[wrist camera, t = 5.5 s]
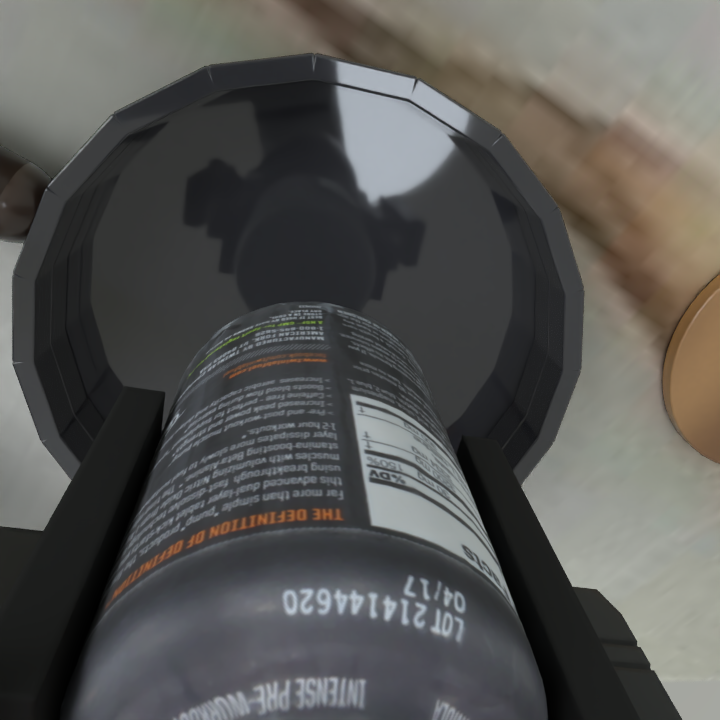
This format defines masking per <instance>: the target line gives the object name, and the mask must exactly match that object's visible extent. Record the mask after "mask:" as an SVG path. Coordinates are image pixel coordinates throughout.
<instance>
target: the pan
mask: <svg viewBox="0 0 720 720" xmlns="http://www.w3.org/2000/svg"><path fill="white" fill-rule="evenodd" d="M288 302H324V303H330V304H334V305H338V306H342V307H346V308H350V309H352V310H355V311H358V312H360V313H362V314H364V315H366V316H369V317H371V318H372V319H374V320H376V321H377V322H379V323H380V324H382V325H383V326H385V327H386V328H388V329H389V330H390V331H391V332H393V333H394V334H395V335H396V336H397V337H398V338H399V339H400V340H401V341H402V342H403V343H404V344H405V345H406V346H407V348H408V349H409V350H410V351H411V353H412V354H413V356H414V358H415V359H416V361H417V362H418V364H419V366H420V368H421V371H422V373H423V375H424V377H425V379H426V381H427V383H428V386H429V389H430V391H431V394H432V396H433V399H434V401H435V404H436V407H437V409H438V411H439V414H440V417H441V420H442V422H443V425H444V426H445V428H446V430H447V434H448V438H449V440H450V443H451V445H452V447H453V449H454V452H455V454H456V453H457V450H458V447H459V444H460V441H461V438H462V435H465V436H472V437H479V438H486V439H493V440H497V441H498V443H499V445H500V447H501V449H502V451H503V453H504V455H505V457H506V459H507V461H508V462H509V464H510V466H511V468H512V470H513V472H514V474H515V476H516V478H517V480H518V482H519V484H520V486H521V485H522V483H523V482H524V481H525V479H526V478H527V477H528V475H529V474H530V473H531V472H532V470H533V469H534V468H535V466H536V465H537V464H538V463H539V461H540V460H541V459H542V457H543V456H544V455H545V454H546V452H547V451H548V450H549V448H550V447H551V446H552V444H553V442H554V441H555V438H556V436H557V433H558V430H559V428H560V425H561V422H562V420H563V417H564V414H565V412H566V409H567V406H568V404H569V401H570V399H571V396H572V393H573V391H574V388H575V385H576V383H577V380H578V377H579V375H580V370H581V362H582V337H583V312H584V286H583V283H582V279H581V276H580V273H579V270H578V266H577V263H576V260H575V257H574V253H573V250H572V247H571V244H570V241H569V237H568V234H567V231H566V228H565V224H564V221H563V218H562V215H561V211H560V209H559V207H558V205H557V203H556V202H555V200H554V199H553V198H552V196H551V195H550V194H549V192H548V191H547V190H546V188H545V187H544V186H543V184H542V183H541V182H540V181H539V179H538V178H537V177H536V175H535V174H534V173H533V171H532V170H531V169H530V167H529V166H528V165H527V163H526V162H525V161H524V159H523V158H522V157H521V155H520V154H519V153H518V151H517V150H516V149H515V147H514V146H513V145H512V143H511V142H510V141H509V140H508V138H507V137H506V136H505V134H503V133H502V132H501V130H499V129H498V128H496V127H495V126H493V125H492V124H490V123H488V122H487V121H485V120H484V119H482V118H481V117H479V116H478V115H476V114H475V113H473V112H472V111H470V110H468V109H467V108H465V107H464V106H462V105H461V104H459V103H458V102H456V101H455V100H453V99H451V98H450V97H448V96H447V95H445V94H444V93H442V92H441V91H439V90H438V89H436V88H435V87H433V86H431V85H430V84H428V83H427V82H425V81H424V80H422V79H421V78H417V77H416V76H412V75H408V74H404V73H400V72H395V71H391V70H387V69H382V68H378V67H374V66H370V65H365V64H361V63H357V62H353V61H348V60H344V59H340V58H336V57H331V56H327V55H323V54H318V53H317V54H315V55H314V54H313V53H307V54H298V55H289V56H281V57H272V58H263V59H255V60H246V61H238V62H229V63H220V64H212V65H209V66H204V67H202V68H200V69H198V70H196V71H194V72H192V73H190V74H188V75H186V76H184V77H182V78H180V79H178V80H176V81H174V82H172V83H170V84H168V85H166V86H165V87H163V88H161V89H159V90H157V91H155V92H153V93H151V94H149V95H147V96H145V97H143V98H141V99H139V100H137V101H135V102H133V103H131V104H129V105H127V106H125V107H123V108H121V109H119V110H117V111H115V112H114V114H112V115H110V116H109V118H108V119H107V120H106V121H105V122H104V123H103V124H102V125H101V126H100V127H99V128H98V130H97V131H96V132H95V133H94V134H93V135H92V136H91V137H90V138H89V139H88V141H87V142H86V143H85V144H84V145H83V146H82V147H81V148H80V149H79V150H78V152H77V153H76V154H75V155H74V156H73V157H72V158H71V159H70V160H69V161H68V163H67V164H66V165H65V166H64V167H63V168H62V169H61V170H60V171H59V172H58V174H57V175H56V176H55V177H54V178H53V179H52V180H51V181H50V182H49V183H48V185H47V188H45V190H44V192H43V195H42V198H41V200H40V203H39V205H38V208H37V211H36V213H35V216H34V219H33V221H32V224H31V226H30V229H29V231H28V234H27V237H26V239H25V242H24V245H23V247H22V250H21V252H20V255H19V258H18V260H17V263H16V265H15V268H14V271H13V276H12V360H13V366H14V369H15V372H16V374H17V377H18V380H19V383H20V385H21V388H22V391H23V394H24V396H25V399H26V402H27V405H28V407H29V410H30V413H31V416H32V418H33V421H34V424H35V427H36V429H37V432H38V435H39V438H40V440H41V441H42V443H43V444H44V446H45V447H46V448H47V450H48V451H49V452H50V453H51V455H52V456H53V457H54V458H55V460H56V461H57V462H58V464H59V465H60V466H61V467H62V469H63V470H64V471H65V472H66V474H67V475H68V476H69V478H70V479H71V480H72V479H73V477H74V476H75V474H76V472H77V470H78V468H79V467H80V465H81V463H82V461H83V459H84V458H85V456H86V454H87V452H88V450H89V449H90V447H91V445H92V443H93V442H94V440H95V438H96V436H97V434H98V433H99V431H100V429H101V427H102V425H103V424H104V422H105V420H106V418H107V416H108V415H109V413H110V411H111V409H112V408H113V406H114V404H115V402H116V400H117V399H118V397H119V395H120V393H121V391H122V390H123V388H124V386H128V387H135V388H142V389H149V390H156V391H163V392H165V402H164V412H163V422H162V432H163V429H164V426H165V423H166V420H167V418H168V414H169V411H170V409H171V407H172V404H173V400H174V398H175V395H176V392H177V390H178V386H179V383H180V380H181V378H182V376H183V374H184V373H185V371H186V369H187V367H188V366H189V364H190V363H191V361H192V360H193V358H194V357H195V356H196V354H197V353H198V352H199V350H200V349H201V348H202V347H203V346H204V345H205V344H206V343H207V342H208V341H209V340H210V339H211V338H212V336H213V335H214V334H215V332H217V331H218V330H219V329H221V328H222V327H224V326H225V325H227V324H229V323H230V322H232V321H234V320H236V319H237V318H239V317H241V316H243V315H245V314H247V313H250V312H253V311H255V310H258V309H260V308H264V307H267V306H271V305H274V304H278V303H288ZM162 432H161V434H162Z"/></svg>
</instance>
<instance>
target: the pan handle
mask: <svg viewBox="0 0 720 720" xmlns="http://www.w3.org/2000/svg"><path fill="white" fill-rule="evenodd" d="M50 181H51V179H50V177H49V176H48V175H47V174H46V173H45V172H44V171H43V170H42V169H41V168H39V167H38V166H36V165H35V164H33V163H32V162H30V161H28V160H26V159H24V158H23V157H21V156H19V155H17V154H15V153H13V152H12V151H10V150H8V149H6V148H4V147H2V146H1V145H0V240H2V241H6V242H15V243H22V242H25V239H26V237H27V234H28V231H29V229H30V226H31V224H32V221H33V219H34V216H35V213H36V211H37V208H38V205H39V203H40V200H41V198H42V195H43V192H44V190H45V188H47V185H48V183H49V182H50Z"/></svg>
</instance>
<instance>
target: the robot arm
mask: <svg viewBox="0 0 720 720" xmlns="http://www.w3.org/2000/svg"><path fill="white" fill-rule="evenodd" d="M164 402H165V392H163V391H156V390H149V389H142V388H135V387H128V386H124V388H123V390H122V391H121V393H120V395H119V397H118V399H117V400H116V402H115V404H114V406H113V408H112V409H111V411H110V413H109V415H108V416H107V418H106V420H105V422H104V424H103V425H102V427H101V429H100V431H99V433H98V434H97V436H96V438H95V440H94V442H93V443H92V445H91V447H90V449H89V450H88V452H87V454H86V456H85V458H84V459H83V461H82V463H81V465H80V467H79V468H78V470H77V472H76V474H75V476H74V477H73V479H72V481H71V483H70V484H69V486H68V488H67V490H66V492H65V493H64V495H63V497H62V499H61V501H60V502H59V504H58V506H57V508H56V509H55V511H54V513H53V515H52V517H51V518H50V520H49V522H48V524H47V526H46V527H45V529H44V531H38V530H29V529H20V528H10V527H1V526H0V720H59V717H60V707H61V704H62V702H63V699H64V695H65V692H66V689H67V686H68V683H69V681H70V678H71V676H72V673H73V671H74V669H75V667H76V664H77V662H78V658H79V655H80V652H81V649H82V646H83V644H84V641H85V639H86V636H87V633H88V631H89V628H90V625H91V623H92V621H93V618H94V616H95V613H96V611H97V608H98V605H99V602H100V599H101V596H102V593H103V591H104V588H105V585H106V582H107V579H108V577H109V574H110V571H111V569H112V567H113V564H114V561H115V558H116V556H117V554H118V551H119V548H120V545H121V542H122V540H123V537H124V534H125V532H126V529H127V525H128V522H129V519H130V517H131V515H132V512H133V510H134V507H135V504H136V502H137V499H138V496H139V493H140V490H141V488H142V485H143V482H144V479H145V477H146V475H147V473H148V470H149V467H150V464H151V461H152V459H153V456H154V454H155V451H156V449H157V446H158V443H159V440H160V437H161V432H162V422H163V412H164ZM456 457H457V459H458V462H459V464H460V466H461V469H462V472H463V474H464V477H465V480H466V482H467V484H468V487H469V490H470V492H471V495H472V497H473V499H474V502H475V505H476V507H477V510H478V513H479V515H480V518H481V520H482V523H483V525H484V528H485V530H486V533H487V535H488V537H489V539H490V541H491V544H492V547H493V549H494V552H495V554H496V556H497V559H498V561H499V564H500V567H501V570H502V573H503V576H504V579H505V582H506V584H507V587H508V590H509V592H510V595H511V598H512V600H513V603H514V605H515V608H516V611H517V614H518V617H519V619H520V621H521V623H522V626H523V628H524V631H525V635H526V637H527V639H528V641H529V643H530V646H531V649H532V652H533V654H534V657H535V660H536V663H537V666H538V669H539V672H540V675H541V677H542V681H543V685H544V690H545V694H546V702H547V711H548V720H682V718H681V717H680V715H679V713H678V711H677V710H676V708H675V706H674V705H673V703H672V701H671V699H670V698H669V696H668V694H667V692H666V691H665V689H664V687H663V685H662V684H661V682H660V680H659V678H658V677H657V675H656V673H655V672H654V671H653V670H651V669H650V663H649V661H648V659H647V658H646V656H645V654H644V652H643V651H642V649H641V647H637V640H636V639H635V637H634V635H633V633H632V632H631V630H630V628H629V626H628V625H627V623H626V621H625V620H624V618H623V616H622V614H621V613H620V612H619V611H618V610H617V609H616V608H615V607H614V606H613V605H612V604H611V603H610V602H609V601H608V600H607V599H606V598H605V597H604V596H603V595H602V594H601V593H600V592H599V591H598V590H597V589H588V588H579V587H572V585H571V583H570V581H569V579H568V577H567V575H566V573H565V572H564V570H563V568H562V566H561V564H560V562H559V560H558V558H557V556H556V554H555V552H554V550H553V548H552V546H551V544H550V542H549V540H548V538H547V536H546V535H545V533H544V531H543V529H542V527H541V525H540V523H539V521H538V519H537V517H536V515H535V513H534V511H533V509H532V507H531V505H530V503H529V501H528V499H527V498H526V496H525V494H524V492H523V490H522V488H521V486H520V484H519V482H518V480H517V478H516V476H515V474H514V472H513V470H512V468H511V466H510V464H509V462H508V461H507V459H506V457H505V455H504V453H503V451H502V449H501V447H500V445H499V443H498V441H497V440H493V439H486V438H479V437H472V436H465V435H462V438H461V441H460V444H459V447H458V450H457V453H456Z"/></svg>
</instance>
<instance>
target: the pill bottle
mask: <svg viewBox="0 0 720 720" xmlns="http://www.w3.org/2000/svg"><path fill="white" fill-rule="evenodd" d="M59 720H548V711H547V702H546V694H545V690H544V685H543V681H542V677H541V675H540V672H539V669H538V666H537V663H536V660H535V657H534V654H533V652H532V649H531V646H530V643H529V641H528V639H527V637H526V635H525V631H524V628H523V626H522V623H521V621H520V619H519V617H518V614H517V611H516V608H515V605H514V603H513V600H512V598H511V595H510V592H509V590H508V587H507V584H506V582H505V579H504V576H503V573H502V570H501V567H500V564H499V561H498V559H497V556H496V554H495V552H494V549H493V547H492V544H491V541H490V539H489V537H488V535H487V533H486V530H485V528H484V525H483V523H482V520H481V518H480V515H479V513H478V510H477V507H476V505H475V502H474V499H473V497H472V495H471V492H470V490H469V487H468V484H467V482H466V480H465V477H464V474H463V472H462V469H461V466H460V464H459V462H458V459H457V457H456V454H455V452H454V449H453V447H452V445H451V443H450V440H449V438H448V434H447V430H446V428H445V426H444V425H443V422H442V420H441V417H440V414H439V411H438V409H437V407H436V404H435V401H434V399H433V396H432V394H431V391H430V389H429V386H428V383H427V381H426V379H425V377H424V375H423V373H422V371H421V368H420V366H419V364H418V362H417V361H416V359H415V358H414V356H413V354H412V353H411V351H410V350H409V349H408V348H407V346H406V345H405V344H404V343H403V342H402V341H401V340H400V339H399V338H398V337H397V336H396V335H395V334H394V333H393V332H391V331H390V330H389V329H388V328H386V327H385V326H383V325H382V324H380V323H379V322H377V321H376V320H374V319H372V318H371V317H369V316H366V315H364V314H362V313H360V312H358V311H355V310H352V309H350V308H346V307H342V306H338V305H334V304H330V303H324V302H288V303H278V304H274V305H271V306H267V307H264V308H260V309H258V310H255V311H253V312H250V313H247V314H245V315H243V316H241V317H239V318H237V319H236V320H234V321H232V322H230V323H229V324H227V325H225V326H224V327H222V328H221V329H219V330H218V331H217V332H215V334H214V335H213V336H212V338H211V339H210V340H209V341H208V342H207V343H206V344H205V345H204V346H203V347H202V348H201V349H200V350H199V352H198V353H197V354H196V356H195V357H194V358H193V360H192V361H191V363H190V364H189V366H188V367H187V369H186V371H185V373H184V374H183V376H182V378H181V380H180V383H179V386H178V390H177V392H176V395H175V398H174V400H173V404H172V407H171V409H170V411H169V414H168V418H167V420H166V423H165V426H164V429H163V432H162V434H161V437H160V440H159V443H158V446H157V449H156V451H155V454H154V456H153V459H152V461H151V464H150V467H149V470H148V473H147V475H146V477H145V479H144V482H143V485H142V488H141V490H140V493H139V496H138V499H137V502H136V504H135V507H134V510H133V512H132V515H131V517H130V519H129V522H128V525H127V529H126V532H125V534H124V537H123V540H122V542H121V545H120V548H119V551H118V554H117V556H116V558H115V561H114V564H113V567H112V569H111V571H110V574H109V577H108V579H107V582H106V585H105V588H104V591H103V593H102V596H101V599H100V602H99V605H98V608H97V611H96V613H95V616H94V618H93V621H92V623H91V625H90V628H89V631H88V633H87V636H86V639H85V641H84V644H83V646H82V649H81V652H80V655H79V658H78V662H77V664H76V667H75V669H74V671H73V673H72V676H71V678H70V681H69V683H68V686H67V689H66V692H65V695H64V699H63V702H62V704H61V707H60V717H59Z"/></svg>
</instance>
